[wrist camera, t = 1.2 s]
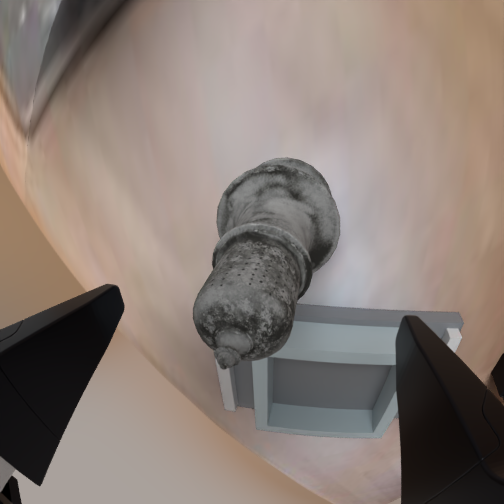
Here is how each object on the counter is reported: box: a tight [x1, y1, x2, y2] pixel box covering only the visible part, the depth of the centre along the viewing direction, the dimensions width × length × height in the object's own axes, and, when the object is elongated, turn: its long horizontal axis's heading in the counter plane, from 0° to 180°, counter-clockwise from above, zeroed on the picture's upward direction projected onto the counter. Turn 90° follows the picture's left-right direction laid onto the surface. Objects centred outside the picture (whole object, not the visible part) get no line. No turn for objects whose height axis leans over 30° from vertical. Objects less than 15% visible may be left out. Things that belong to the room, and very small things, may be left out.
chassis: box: [214, 304, 464, 438], centre depth 21 cm, size 18×12×4 cm, turn 92°
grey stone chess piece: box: [193, 158, 340, 370], centre depth 12 cm, size 6×6×12 cm
